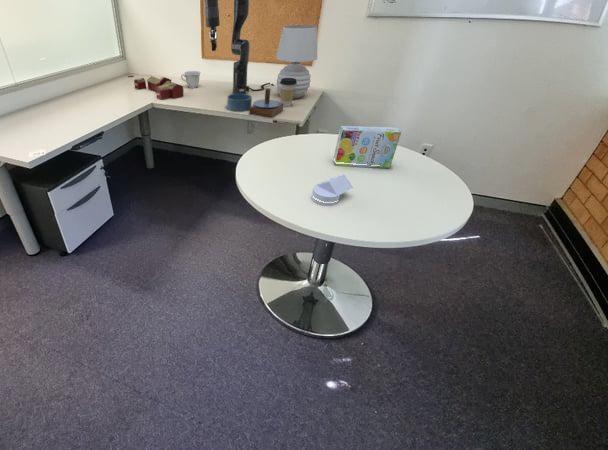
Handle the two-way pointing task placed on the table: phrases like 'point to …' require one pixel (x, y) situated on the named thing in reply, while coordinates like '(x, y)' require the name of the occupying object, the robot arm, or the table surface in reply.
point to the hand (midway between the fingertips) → (214, 49)
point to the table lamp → (297, 55)
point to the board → (266, 111)
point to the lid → (267, 101)
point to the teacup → (191, 78)
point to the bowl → (239, 102)
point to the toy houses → (161, 87)
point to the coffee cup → (287, 91)
